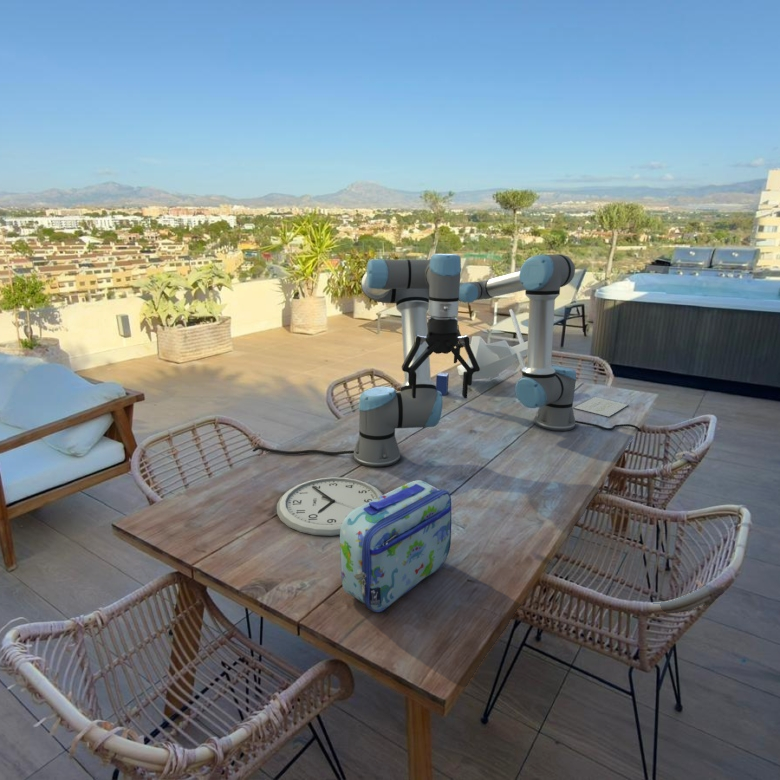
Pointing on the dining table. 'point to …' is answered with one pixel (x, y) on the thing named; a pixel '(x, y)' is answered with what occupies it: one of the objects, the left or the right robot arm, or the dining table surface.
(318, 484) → the wall clock
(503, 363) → the white plastic object
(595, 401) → the invitation card
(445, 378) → the block
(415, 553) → the lunch box
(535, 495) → the dining table surface
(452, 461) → the dining table surface
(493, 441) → the dining table surface
